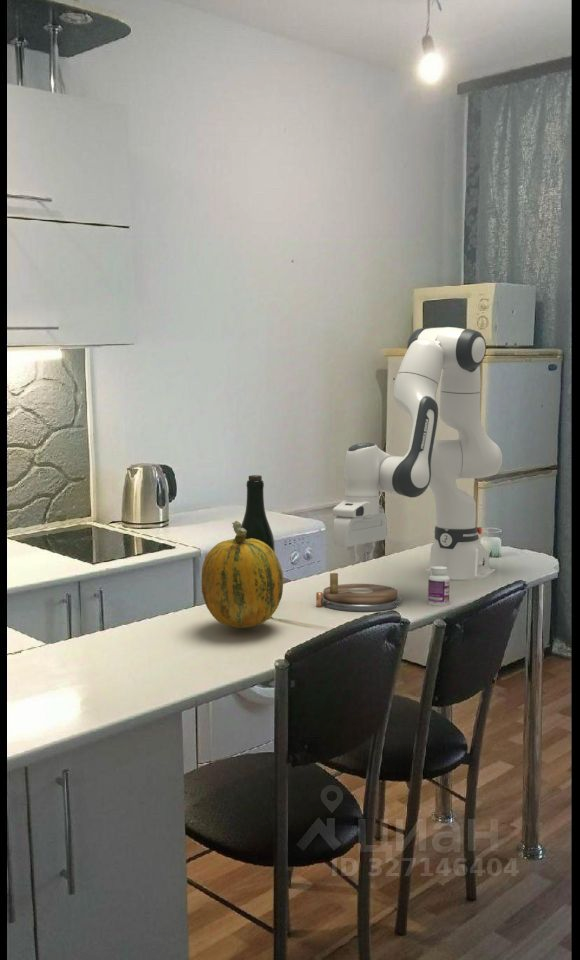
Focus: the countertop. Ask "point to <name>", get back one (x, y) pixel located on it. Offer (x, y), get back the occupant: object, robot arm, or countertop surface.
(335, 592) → the turntable
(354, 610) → the turntable base
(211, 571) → the pumpkin
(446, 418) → the robot arm
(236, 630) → the countertop surface
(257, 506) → the wine bottle
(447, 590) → the pill bottle
